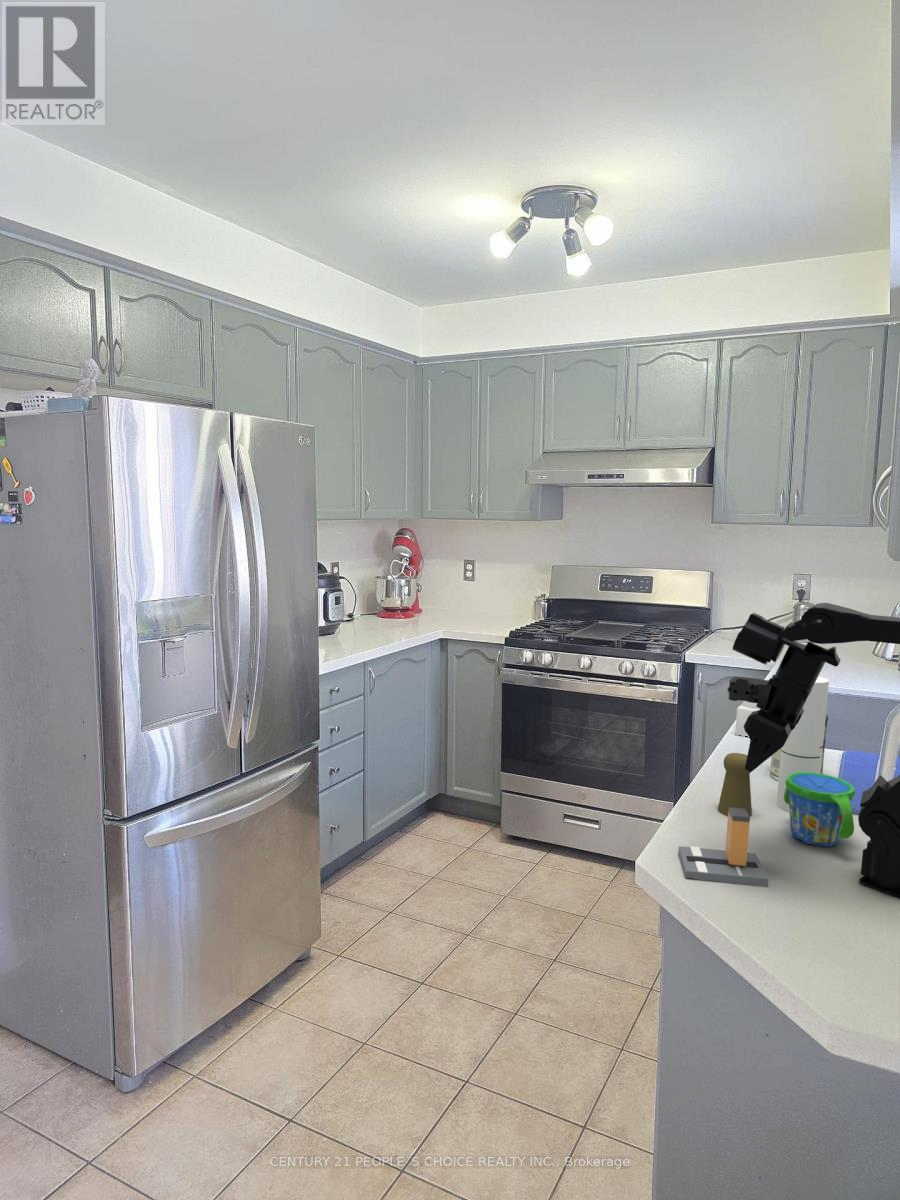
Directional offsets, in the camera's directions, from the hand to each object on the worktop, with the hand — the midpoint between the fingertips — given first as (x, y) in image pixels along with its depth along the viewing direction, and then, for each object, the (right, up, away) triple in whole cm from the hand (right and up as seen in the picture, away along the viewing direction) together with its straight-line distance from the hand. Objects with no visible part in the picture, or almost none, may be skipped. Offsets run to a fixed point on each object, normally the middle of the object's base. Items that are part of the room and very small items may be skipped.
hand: (753, 762), depth 130 cm
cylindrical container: (+17, -13, +22) cm, 31 cm away
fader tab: (-5, -15, -5) cm, 17 cm away
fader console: (-7, -16, -5) cm, 18 cm away
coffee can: (+24, -11, +39) cm, 47 cm away
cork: (+4, -13, +19) cm, 24 cm away
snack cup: (+14, -15, +8) cm, 22 cm away
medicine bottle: (+27, -7, +70) cm, 76 cm away
